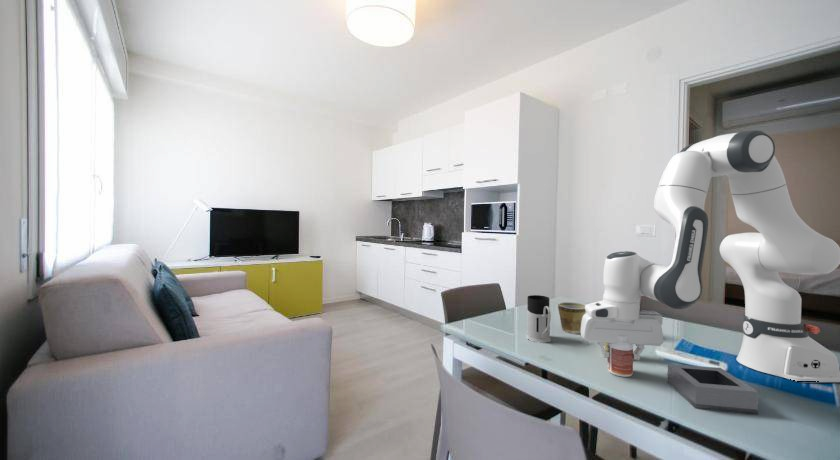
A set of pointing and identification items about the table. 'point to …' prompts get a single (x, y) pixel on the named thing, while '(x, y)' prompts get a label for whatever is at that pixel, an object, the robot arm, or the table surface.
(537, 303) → the glass holder
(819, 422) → the table surface
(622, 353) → the pill bottle
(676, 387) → the metal socket
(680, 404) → the table surface
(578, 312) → the ceramic cup
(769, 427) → the table surface
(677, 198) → the robot arm
